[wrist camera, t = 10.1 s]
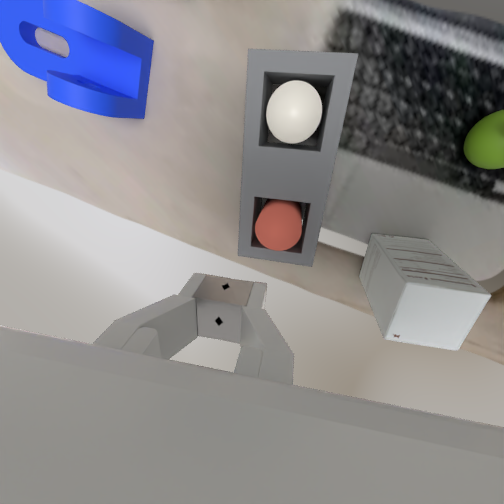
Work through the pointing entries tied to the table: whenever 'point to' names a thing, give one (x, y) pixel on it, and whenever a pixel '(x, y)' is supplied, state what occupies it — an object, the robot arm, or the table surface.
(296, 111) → the plug
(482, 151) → the snail figurine
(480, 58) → the table surface
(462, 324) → the supplement box
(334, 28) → the table surface
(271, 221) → the red plug
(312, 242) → the block
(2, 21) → the bracket
